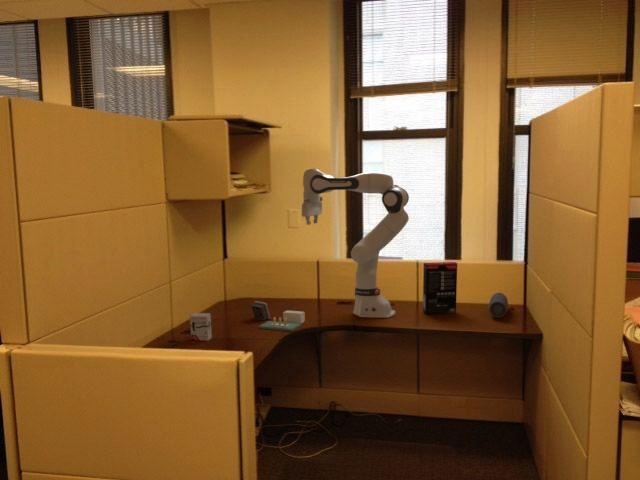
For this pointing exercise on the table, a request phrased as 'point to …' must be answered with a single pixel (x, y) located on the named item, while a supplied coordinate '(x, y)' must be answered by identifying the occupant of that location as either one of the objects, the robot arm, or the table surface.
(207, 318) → the ink box
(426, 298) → the graphics card box
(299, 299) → the table surface
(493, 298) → the bluetooth speaker
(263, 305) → the electrical switch
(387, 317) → the robot arm
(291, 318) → the block
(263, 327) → the header board
